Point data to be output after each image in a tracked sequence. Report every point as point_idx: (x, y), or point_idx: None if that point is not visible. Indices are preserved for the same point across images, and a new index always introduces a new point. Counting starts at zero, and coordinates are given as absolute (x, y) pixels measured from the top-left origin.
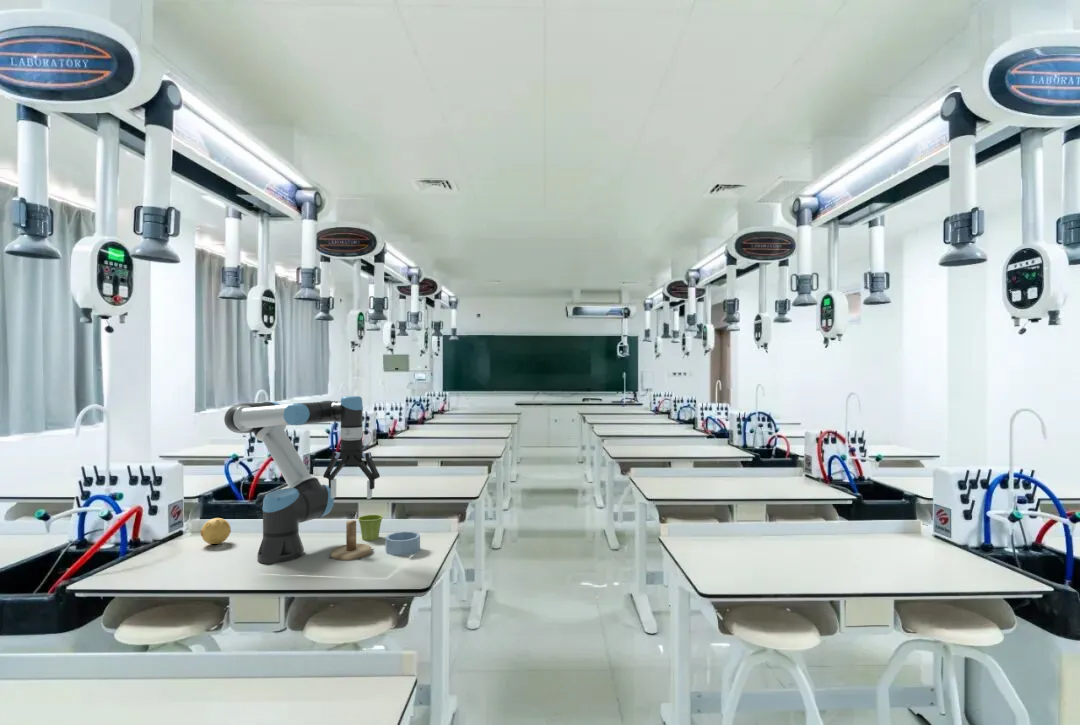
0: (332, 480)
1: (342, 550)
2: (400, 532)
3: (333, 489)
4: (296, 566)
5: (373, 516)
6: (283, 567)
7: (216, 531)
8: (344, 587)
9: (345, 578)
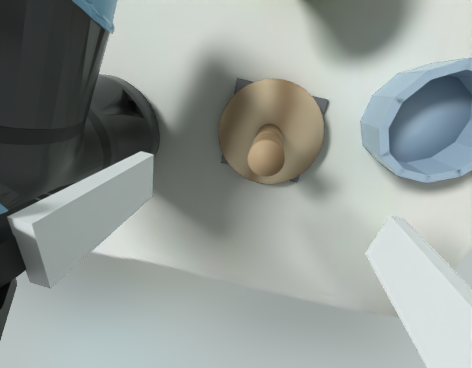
0: (50, 282)
1: (247, 142)
2: (449, 71)
3: (119, 217)
4: (174, 189)
5: None
6: (153, 190)
7: None
8: (284, 291)
9: (280, 261)
